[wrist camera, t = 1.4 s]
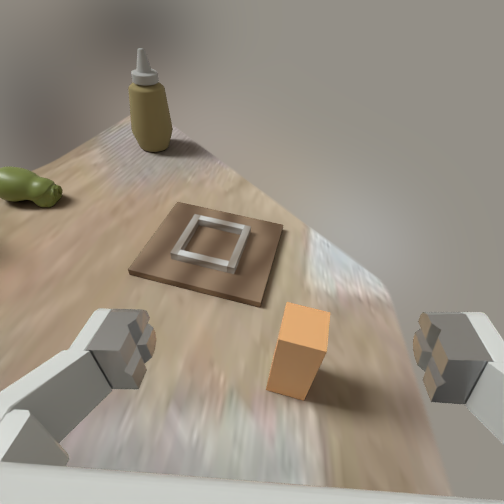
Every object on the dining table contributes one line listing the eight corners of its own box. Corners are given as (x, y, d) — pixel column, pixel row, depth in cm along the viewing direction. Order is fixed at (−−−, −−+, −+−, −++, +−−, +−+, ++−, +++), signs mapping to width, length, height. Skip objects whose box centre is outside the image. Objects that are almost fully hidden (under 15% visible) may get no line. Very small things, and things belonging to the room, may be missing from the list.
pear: (0, 156, 52) (66, 172, 53) (9, 184, 55) (70, 198, 56) (-24, 174, 48) (48, 191, 49) (-12, 203, 51) (54, 218, 52)
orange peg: (265, 389, 34) (278, 339, 27) (273, 355, 37) (286, 301, 30) (303, 400, 33) (326, 351, 26) (308, 365, 36) (330, 312, 29)
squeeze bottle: (154, 159, 65) (140, 58, 53) (126, 146, 68) (106, 47, 56) (182, 145, 70) (174, 50, 58) (154, 134, 73) (142, 40, 61)
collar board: (129, 274, 44) (126, 263, 42) (177, 206, 55) (176, 195, 53) (259, 307, 41) (261, 296, 40) (282, 229, 53) (284, 219, 51)
